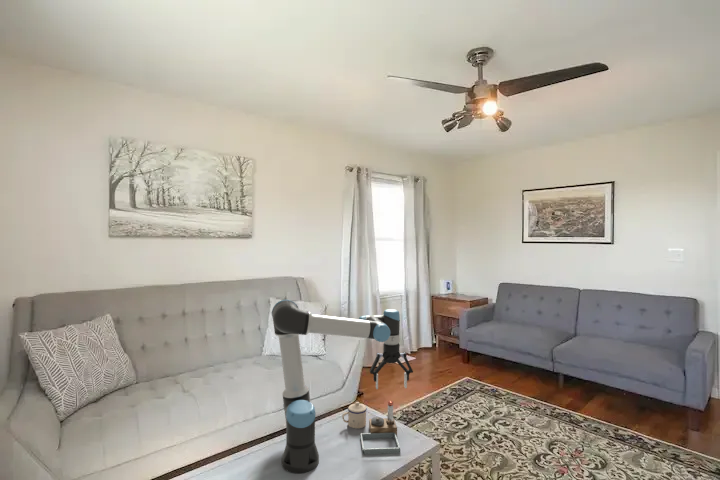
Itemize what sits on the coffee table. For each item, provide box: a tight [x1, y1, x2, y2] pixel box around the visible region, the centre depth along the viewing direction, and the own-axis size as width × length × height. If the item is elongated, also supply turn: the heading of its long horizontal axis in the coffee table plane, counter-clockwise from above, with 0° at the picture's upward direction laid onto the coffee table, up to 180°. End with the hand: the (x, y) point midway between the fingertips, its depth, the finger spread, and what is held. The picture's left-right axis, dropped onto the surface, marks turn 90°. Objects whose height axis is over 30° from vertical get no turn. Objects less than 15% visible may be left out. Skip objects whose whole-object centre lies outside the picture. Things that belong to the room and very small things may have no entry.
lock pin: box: [387, 400, 394, 425], centre depth 185 cm, size 3×3×14 cm
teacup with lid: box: [341, 401, 367, 429], centre depth 191 cm, size 12×9×12 cm
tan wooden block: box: [368, 416, 398, 437], centre depth 185 cm, size 12×9×7 cm
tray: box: [359, 432, 401, 455], centre depth 173 cm, size 16×13×3 cm
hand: (391, 387), depth 184 cm, fingers open, 13 cm apart
